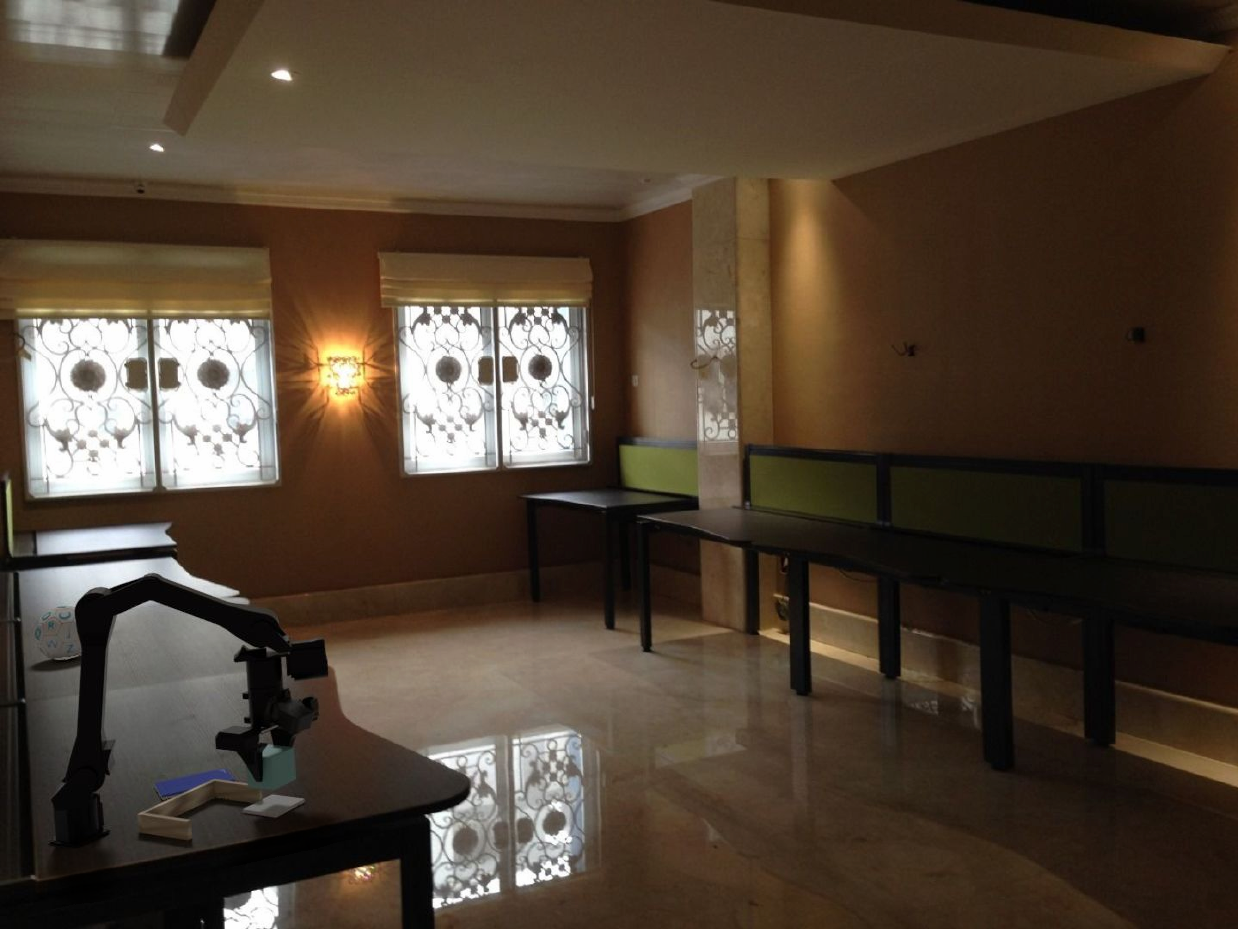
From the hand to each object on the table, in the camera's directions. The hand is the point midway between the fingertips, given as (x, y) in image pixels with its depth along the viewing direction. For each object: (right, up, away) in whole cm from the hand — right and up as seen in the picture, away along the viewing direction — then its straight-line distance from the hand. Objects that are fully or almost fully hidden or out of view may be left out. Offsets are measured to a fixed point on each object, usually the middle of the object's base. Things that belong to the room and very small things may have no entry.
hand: (271, 776), depth 183 cm
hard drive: (-18, -6, +13) cm, 23 cm away
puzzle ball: (-96, -2, +121) cm, 154 cm away
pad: (0, -5, 0) cm, 6 cm away
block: (0, -1, 0) cm, 1 cm away
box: (-11, -6, -2) cm, 13 cm away
